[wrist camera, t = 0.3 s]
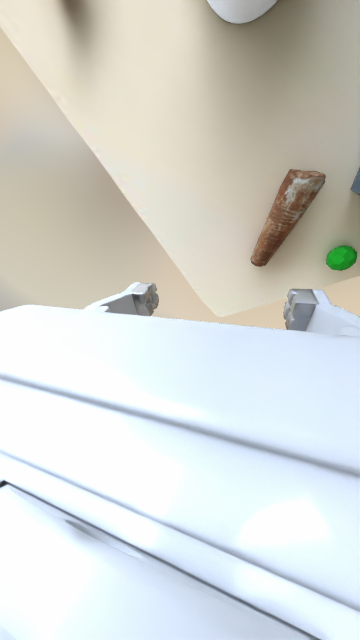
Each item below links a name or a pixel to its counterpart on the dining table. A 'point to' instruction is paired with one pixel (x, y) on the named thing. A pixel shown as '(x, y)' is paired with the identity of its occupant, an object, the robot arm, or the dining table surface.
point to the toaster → (356, 183)
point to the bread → (286, 211)
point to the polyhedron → (341, 258)
